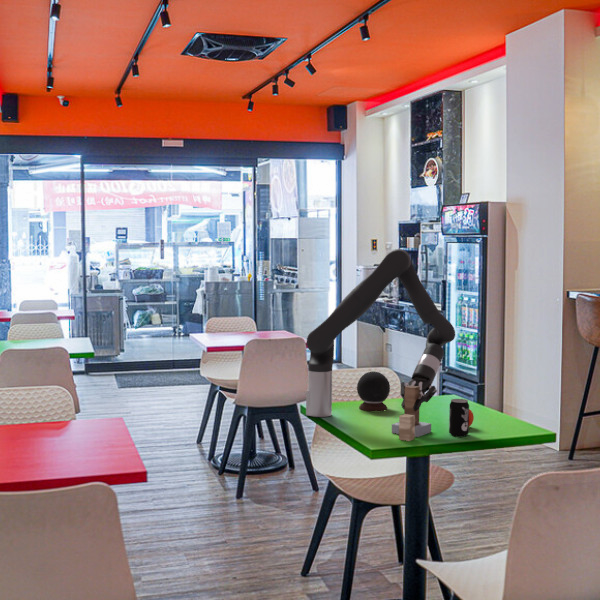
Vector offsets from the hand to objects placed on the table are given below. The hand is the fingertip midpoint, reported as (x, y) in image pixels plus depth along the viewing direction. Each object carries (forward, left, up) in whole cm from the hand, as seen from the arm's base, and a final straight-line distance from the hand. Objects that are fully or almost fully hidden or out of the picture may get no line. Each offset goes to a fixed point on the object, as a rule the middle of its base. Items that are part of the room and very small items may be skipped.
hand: (409, 408), depth 274 cm
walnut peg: (+1, +2, -7) cm, 7 cm away
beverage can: (+17, +4, -9) cm, 19 cm away
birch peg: (+1, -9, -9) cm, 12 cm away
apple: (+17, +16, -9) cm, 25 cm away
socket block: (+1, +2, -9) cm, 9 cm away
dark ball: (-20, +39, -9) cm, 45 cm away
